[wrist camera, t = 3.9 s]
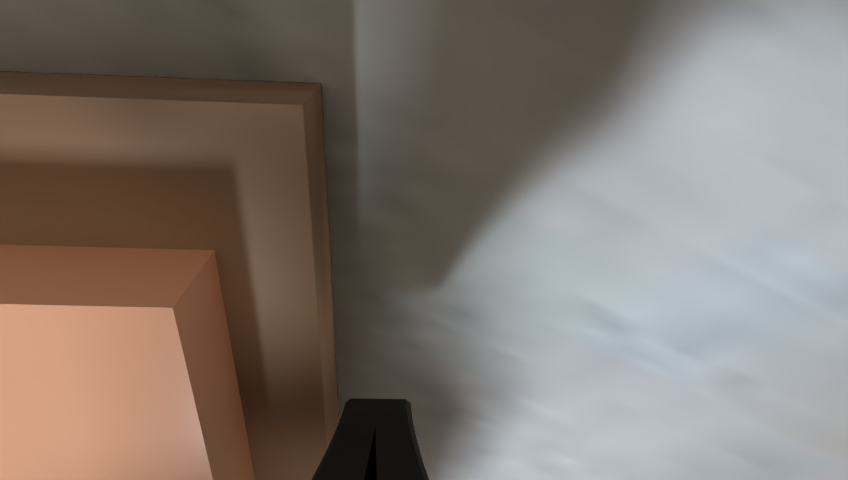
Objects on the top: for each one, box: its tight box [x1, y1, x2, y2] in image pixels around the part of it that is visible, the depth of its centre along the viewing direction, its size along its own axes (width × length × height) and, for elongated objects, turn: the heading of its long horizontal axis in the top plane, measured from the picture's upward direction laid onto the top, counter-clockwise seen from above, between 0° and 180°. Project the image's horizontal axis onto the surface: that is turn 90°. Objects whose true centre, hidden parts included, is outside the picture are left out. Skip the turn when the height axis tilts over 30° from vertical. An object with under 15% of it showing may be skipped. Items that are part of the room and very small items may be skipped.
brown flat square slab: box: [0, 71, 339, 480], centre depth 13 cm, size 14×14×2 cm
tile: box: [0, 245, 255, 480], centre depth 11 cm, size 8×6×2 cm
